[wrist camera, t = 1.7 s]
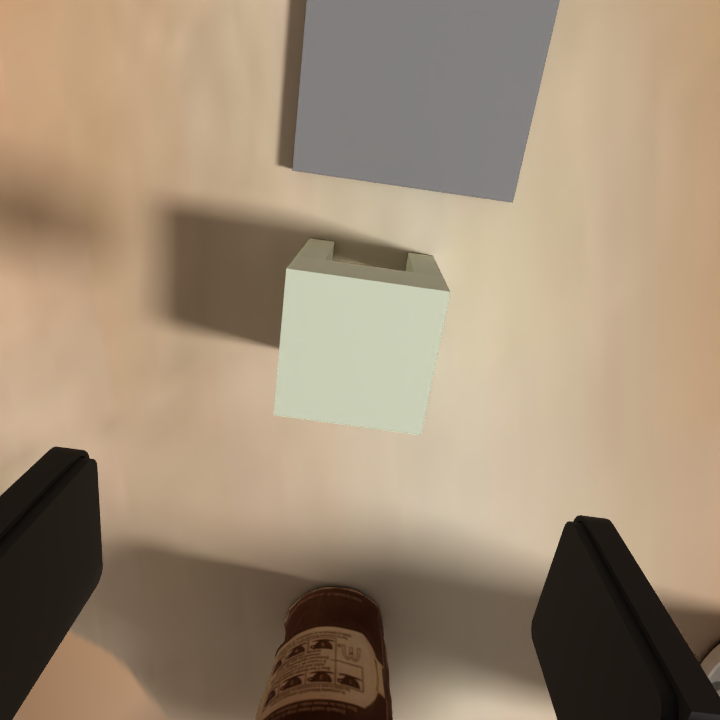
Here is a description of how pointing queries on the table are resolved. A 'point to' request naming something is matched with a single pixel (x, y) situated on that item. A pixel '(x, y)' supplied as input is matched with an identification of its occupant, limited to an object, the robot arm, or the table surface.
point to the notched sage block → (359, 340)
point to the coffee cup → (330, 661)
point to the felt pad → (421, 91)
